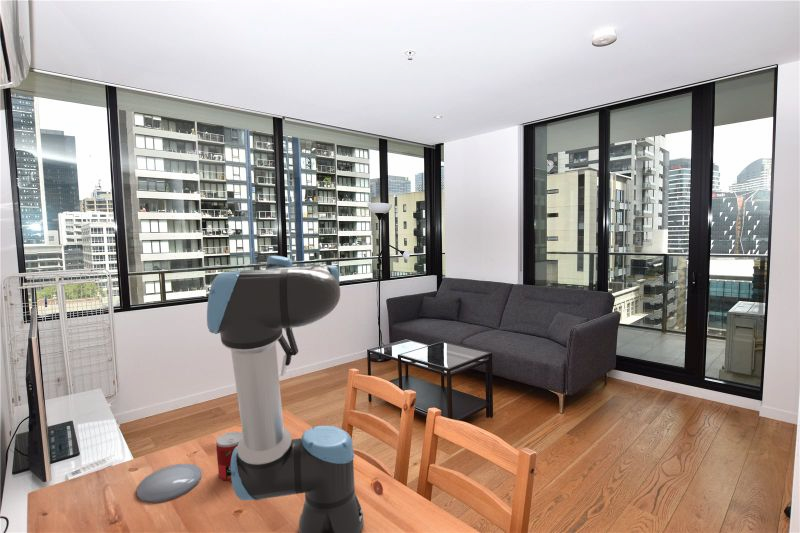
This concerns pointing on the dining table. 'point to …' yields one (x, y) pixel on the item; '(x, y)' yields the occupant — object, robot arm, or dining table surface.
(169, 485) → the slate plate
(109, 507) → the dining table surface
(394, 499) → the dining table surface
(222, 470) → the canned food
